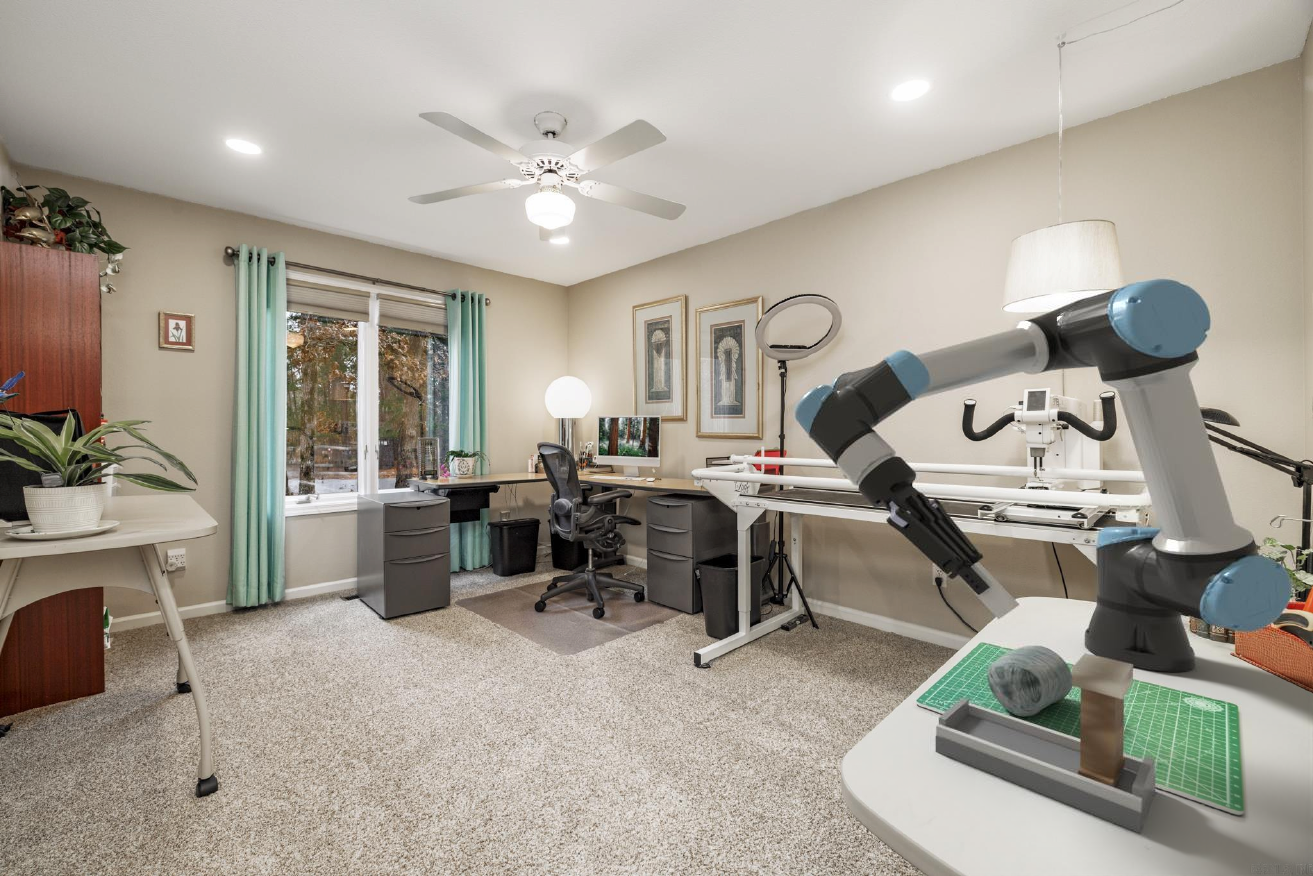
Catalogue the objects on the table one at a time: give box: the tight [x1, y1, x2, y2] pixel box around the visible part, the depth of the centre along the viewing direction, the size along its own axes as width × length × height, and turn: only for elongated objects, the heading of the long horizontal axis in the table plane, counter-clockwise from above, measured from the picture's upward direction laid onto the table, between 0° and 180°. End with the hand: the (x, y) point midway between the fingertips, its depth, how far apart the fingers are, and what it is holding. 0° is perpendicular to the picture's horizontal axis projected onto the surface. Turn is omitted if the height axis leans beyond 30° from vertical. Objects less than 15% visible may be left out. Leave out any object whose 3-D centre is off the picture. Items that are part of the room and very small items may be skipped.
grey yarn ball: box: [986, 645, 1073, 717], centre depth 85 cm, size 14×10×10 cm
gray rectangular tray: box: [935, 696, 1156, 834], centre depth 69 cm, size 20×10×4 cm, turn 42°
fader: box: [1071, 652, 1134, 788], centre depth 64 cm, size 4×7×12 cm, turn 132°
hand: (1008, 611), depth 71 cm, fingers closed
